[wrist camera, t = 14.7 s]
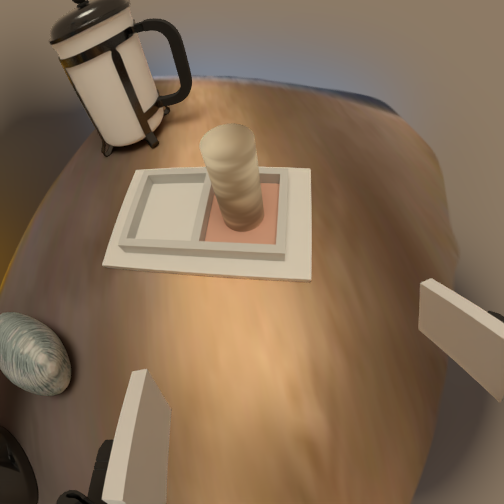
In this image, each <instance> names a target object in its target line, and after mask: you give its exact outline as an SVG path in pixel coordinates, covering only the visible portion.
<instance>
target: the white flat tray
mask: <svg viewBox="0 0 504 504" xmlns="http://www.w3.org/2000/svg"><path fill="white" fill-rule="evenodd" d="M258 168H259V176H260V184H261V192H262V200H263V208H264V217H263V220H262V222H261V223H260V224H259V225H258V226H257V227H256V228H254V229H252V230H250V231H246V232H238V231H234V230H232V229H230V228H229V227H228V226H227V225H226V224H225V222H224V219H223V216H222V213H221V211H220V208H219V205H218V202H217V199H216V196H215V193H214V190H213V187H212V184H211V181H210V178H209V175H208V172H207V169H206V167H184V168H162V169H145V170H136V172H135V174H134V176H133V179H132V181H131V184H130V186H129V189H128V191H127V194H126V196H125V199H124V202H123V204H122V207H121V210H120V212H119V215H118V218H117V221H116V224H115V227H114V230H113V233H112V236H111V239H110V242H109V245H108V248H107V251H106V254H105V258H104V261H103V264H102V265H103V266H104V267H105V268H115V269H126V270H137V271H148V272H160V273H172V274H185V275H198V276H212V277H227V278H242V279H259V280H276V281H295V282H311V256H312V217H311V171H310V169H306V168H284V167H258Z"/></svg>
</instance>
